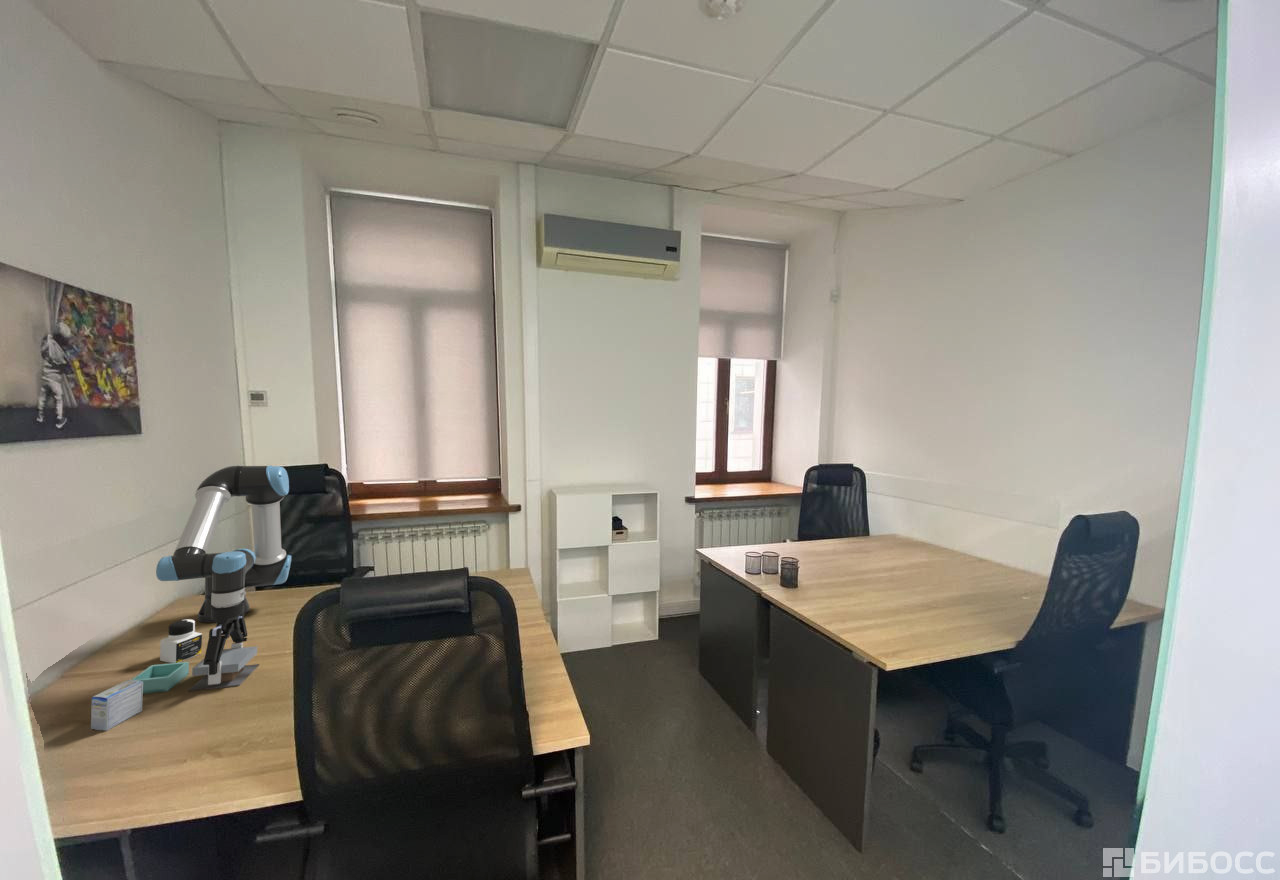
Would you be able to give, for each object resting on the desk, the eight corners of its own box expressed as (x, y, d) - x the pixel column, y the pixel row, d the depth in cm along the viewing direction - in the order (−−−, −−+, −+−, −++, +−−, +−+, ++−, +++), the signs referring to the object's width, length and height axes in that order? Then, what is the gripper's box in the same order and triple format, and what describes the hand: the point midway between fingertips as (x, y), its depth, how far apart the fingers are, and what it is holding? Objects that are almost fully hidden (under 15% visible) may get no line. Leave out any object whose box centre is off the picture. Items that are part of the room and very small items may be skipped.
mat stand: (213, 669, 140) (213, 656, 140) (259, 665, 144) (259, 652, 144) (188, 691, 129) (188, 677, 129) (238, 686, 133) (239, 672, 133)
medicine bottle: (176, 664, 142) (177, 627, 142) (159, 661, 144) (160, 624, 143) (202, 653, 149) (203, 618, 149) (185, 650, 151) (186, 616, 150)
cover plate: (214, 657, 140) (215, 649, 140) (256, 653, 143) (257, 646, 143) (192, 676, 129) (192, 668, 129) (238, 671, 133) (238, 663, 133)
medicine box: (127, 710, 120) (128, 679, 119) (142, 711, 120) (143, 680, 119) (90, 730, 112) (90, 696, 112) (106, 731, 112) (107, 697, 111)
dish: (151, 678, 134) (151, 665, 134) (188, 674, 137) (188, 661, 137) (127, 695, 126) (128, 681, 126) (168, 691, 129) (168, 677, 128)
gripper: (220, 618, 126) (218, 693, 126) (262, 588, 148) (259, 652, 149) (187, 620, 124) (185, 697, 124) (234, 590, 146) (232, 655, 146)
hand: (225, 673), depth 136 cm, fingers closed on cover plate, 11 cm apart
